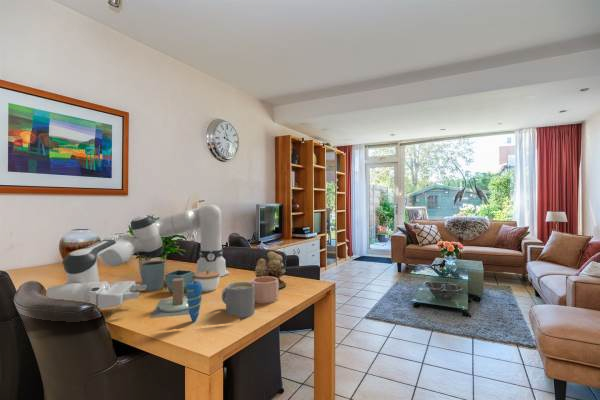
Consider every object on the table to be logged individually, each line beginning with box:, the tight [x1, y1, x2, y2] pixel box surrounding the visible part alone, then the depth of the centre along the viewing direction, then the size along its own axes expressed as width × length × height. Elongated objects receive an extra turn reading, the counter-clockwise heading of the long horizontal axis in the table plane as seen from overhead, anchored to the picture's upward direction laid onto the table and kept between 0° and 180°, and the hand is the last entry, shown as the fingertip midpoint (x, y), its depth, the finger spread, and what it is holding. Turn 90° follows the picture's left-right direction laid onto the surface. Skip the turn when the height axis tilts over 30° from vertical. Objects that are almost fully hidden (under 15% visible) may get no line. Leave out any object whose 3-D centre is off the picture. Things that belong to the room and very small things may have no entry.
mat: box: [149, 297, 203, 319], centre depth 115 cm, size 20×16×1 cm
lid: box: [159, 278, 189, 312], centre depth 115 cm, size 13×13×10 cm
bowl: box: [250, 276, 280, 305], centre depth 124 cm, size 11×11×8 cm
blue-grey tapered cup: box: [139, 260, 165, 292], centre depth 142 cm, size 10×10×12 cm
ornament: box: [185, 278, 203, 323], centre depth 100 cm, size 5×5×15 cm
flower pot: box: [164, 269, 195, 294], centre depth 134 cm, size 9×9×9 cm
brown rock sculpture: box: [254, 251, 287, 291], centre depth 141 cm, size 18×12×17 cm, turn 137°
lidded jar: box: [194, 270, 221, 293], centre depth 137 cm, size 11×11×9 cm
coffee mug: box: [221, 281, 255, 319], centre depth 110 cm, size 13×10×10 cm
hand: (142, 290), depth 111 cm, fingers open, 8 cm apart
